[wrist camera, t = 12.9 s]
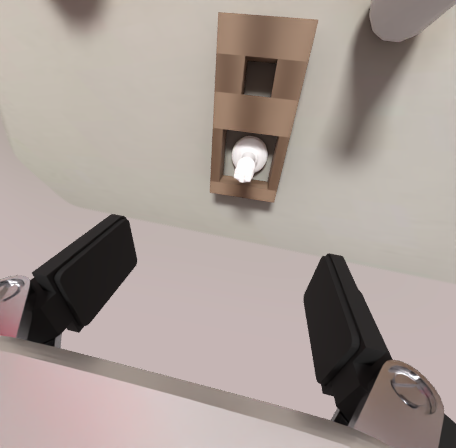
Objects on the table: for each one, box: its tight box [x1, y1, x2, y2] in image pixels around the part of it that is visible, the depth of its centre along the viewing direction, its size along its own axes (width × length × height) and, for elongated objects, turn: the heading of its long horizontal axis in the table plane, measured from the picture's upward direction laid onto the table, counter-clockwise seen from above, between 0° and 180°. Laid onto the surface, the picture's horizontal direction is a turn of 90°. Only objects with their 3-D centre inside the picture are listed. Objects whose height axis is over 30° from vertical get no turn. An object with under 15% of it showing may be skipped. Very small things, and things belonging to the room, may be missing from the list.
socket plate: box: [210, 12, 318, 202], centre depth 24 cm, size 9×18×3 cm, turn 175°
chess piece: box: [232, 136, 268, 183], centre depth 23 cm, size 5×5×10 cm
